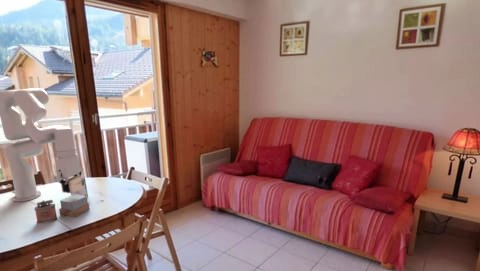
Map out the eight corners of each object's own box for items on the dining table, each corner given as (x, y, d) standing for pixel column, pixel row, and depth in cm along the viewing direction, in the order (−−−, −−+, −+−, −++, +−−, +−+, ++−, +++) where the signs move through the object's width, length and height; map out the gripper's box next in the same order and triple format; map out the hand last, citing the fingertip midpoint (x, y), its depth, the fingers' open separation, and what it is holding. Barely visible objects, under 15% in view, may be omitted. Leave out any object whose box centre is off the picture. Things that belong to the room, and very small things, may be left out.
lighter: (36, 224, 129) (32, 204, 126) (38, 221, 132) (34, 201, 130) (56, 220, 132) (53, 200, 130) (58, 217, 135) (54, 197, 133)
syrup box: (80, 200, 152) (76, 175, 149) (71, 200, 153) (67, 175, 150) (88, 196, 158) (84, 171, 154) (79, 195, 159) (75, 171, 156)
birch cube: (62, 192, 135) (60, 180, 134) (72, 187, 140) (70, 176, 139) (72, 193, 133) (70, 181, 132) (82, 188, 139) (80, 176, 138)
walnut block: (60, 216, 136) (58, 209, 135) (75, 208, 145) (74, 200, 144) (75, 218, 134) (74, 210, 133) (89, 209, 142) (88, 202, 142)
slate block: (61, 208, 136) (60, 200, 135) (76, 201, 143) (74, 194, 143) (73, 210, 133) (71, 202, 132) (87, 203, 140) (86, 196, 140)
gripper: (74, 148, 142) (80, 181, 146) (43, 158, 126) (50, 195, 130) (87, 148, 140) (92, 182, 144) (57, 158, 124) (63, 196, 128)
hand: (72, 188), depth 137 cm, fingers closed on birch cube, 6 cm apart
